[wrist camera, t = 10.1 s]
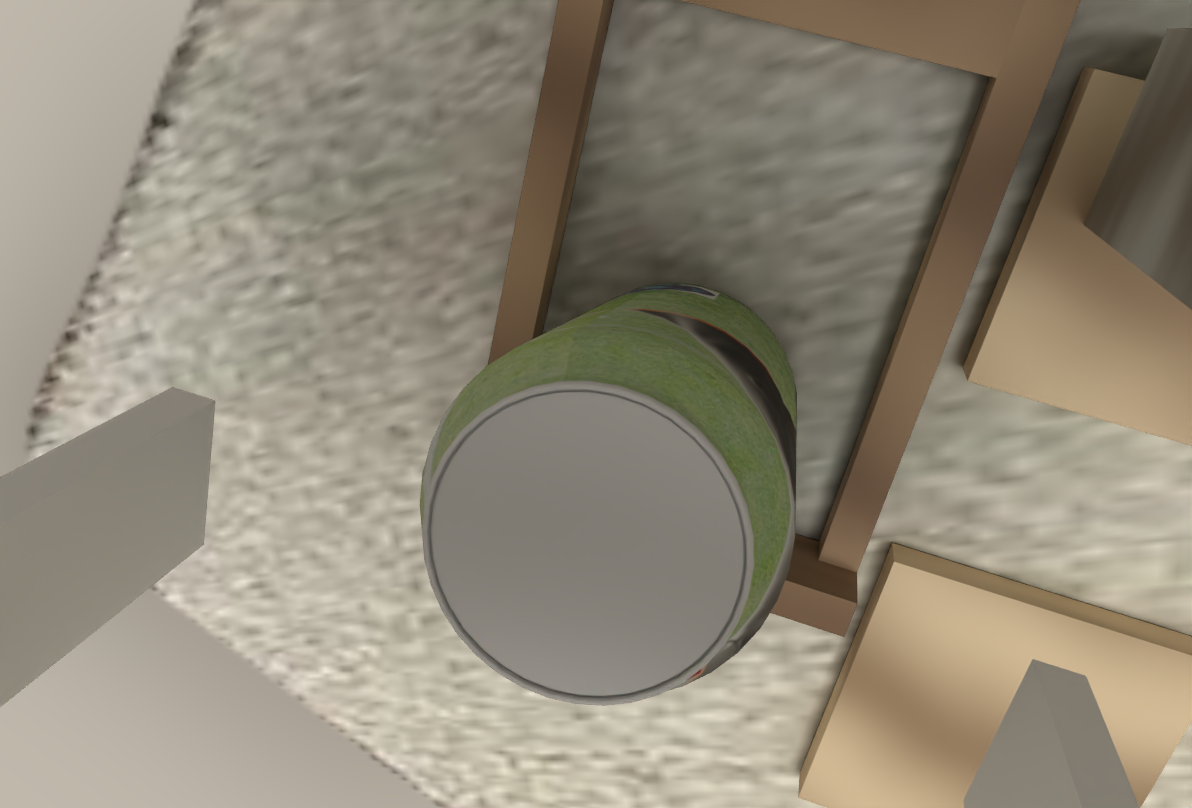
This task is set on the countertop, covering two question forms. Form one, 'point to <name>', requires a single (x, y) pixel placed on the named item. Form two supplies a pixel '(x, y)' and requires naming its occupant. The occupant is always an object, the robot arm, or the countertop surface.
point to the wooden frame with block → (1008, 107)
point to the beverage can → (617, 497)
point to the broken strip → (1066, 380)
